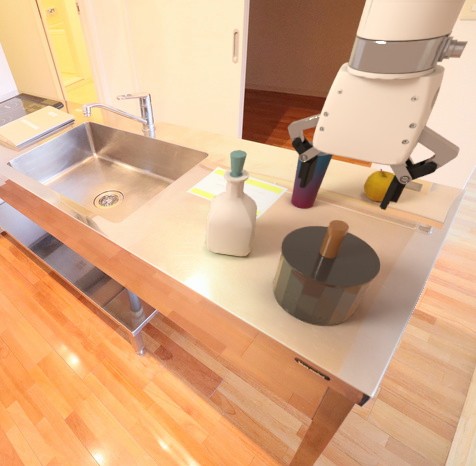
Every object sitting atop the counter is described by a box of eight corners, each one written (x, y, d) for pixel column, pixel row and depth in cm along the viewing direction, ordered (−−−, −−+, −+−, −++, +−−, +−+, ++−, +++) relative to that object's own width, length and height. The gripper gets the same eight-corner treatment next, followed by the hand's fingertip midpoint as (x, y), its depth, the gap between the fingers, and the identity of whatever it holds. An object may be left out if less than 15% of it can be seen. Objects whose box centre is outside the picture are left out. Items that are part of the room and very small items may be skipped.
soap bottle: (252, 232, 75) (267, 142, 60) (249, 261, 68) (265, 167, 54) (210, 227, 78) (215, 140, 63) (204, 254, 72) (207, 164, 57)
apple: (357, 191, 82) (368, 163, 76) (387, 193, 79) (401, 164, 74) (361, 205, 77) (373, 177, 72) (393, 208, 75) (408, 179, 70)
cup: (319, 198, 81) (336, 143, 72) (314, 213, 77) (332, 157, 68) (290, 193, 85) (303, 139, 75) (284, 207, 80) (297, 152, 71)
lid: (384, 247, 54) (402, 213, 49) (367, 306, 46) (387, 272, 41) (295, 222, 61) (303, 190, 57) (267, 268, 54) (275, 236, 49)
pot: (361, 286, 60) (382, 245, 53) (344, 339, 53) (366, 300, 46) (286, 260, 67) (297, 221, 60) (262, 303, 60) (271, 265, 53)
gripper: (516, 46, 30) (428, 198, 40) (316, 43, 40) (289, 166, 51) (512, 69, 26) (416, 230, 37) (291, 59, 36) (268, 188, 47)
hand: (342, 193), depth 44 cm, fingers open, 9 cm apart
